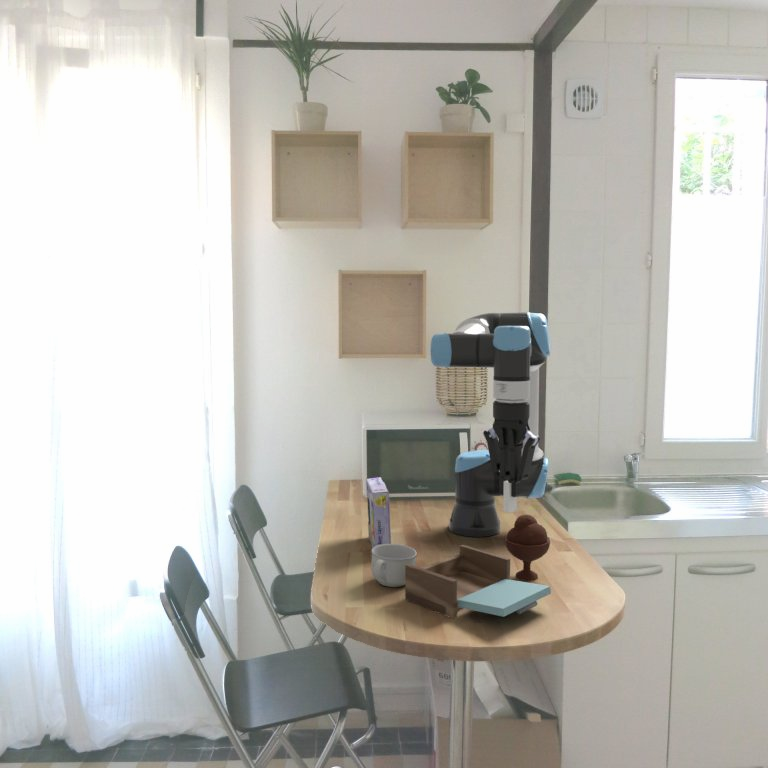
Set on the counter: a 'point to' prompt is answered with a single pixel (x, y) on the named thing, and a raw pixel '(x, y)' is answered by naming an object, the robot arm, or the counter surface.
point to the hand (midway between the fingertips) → (510, 510)
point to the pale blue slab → (505, 597)
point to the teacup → (391, 563)
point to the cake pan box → (378, 512)
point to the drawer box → (454, 579)
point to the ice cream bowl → (527, 544)
